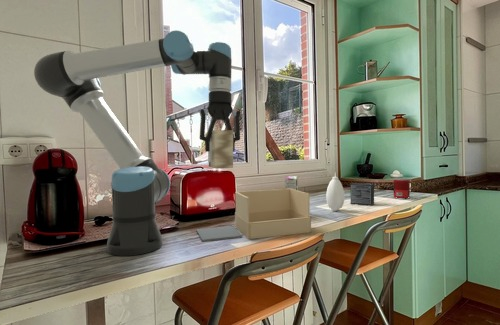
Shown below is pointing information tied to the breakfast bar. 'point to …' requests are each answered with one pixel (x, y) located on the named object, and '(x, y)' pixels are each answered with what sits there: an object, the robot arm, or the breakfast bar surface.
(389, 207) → the breakfast bar surface
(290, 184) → the candy bar box
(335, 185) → the air blower bulb
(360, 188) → the small box
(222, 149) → the box
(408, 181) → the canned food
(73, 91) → the robot arm
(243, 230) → the carton
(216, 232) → the mat
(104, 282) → the breakfast bar surface
